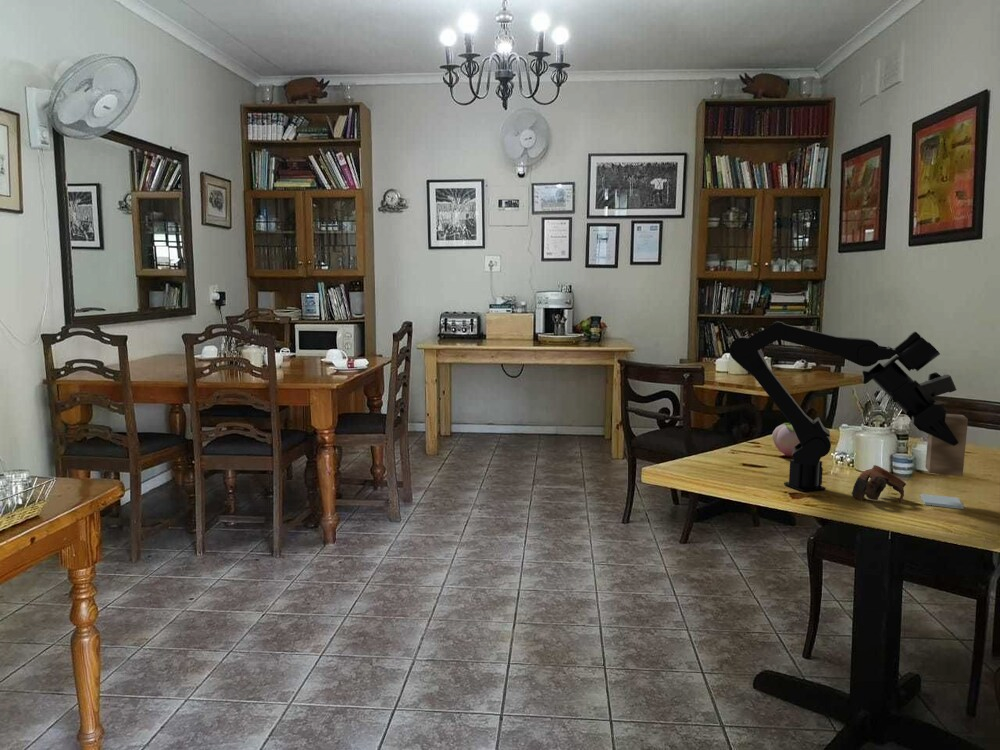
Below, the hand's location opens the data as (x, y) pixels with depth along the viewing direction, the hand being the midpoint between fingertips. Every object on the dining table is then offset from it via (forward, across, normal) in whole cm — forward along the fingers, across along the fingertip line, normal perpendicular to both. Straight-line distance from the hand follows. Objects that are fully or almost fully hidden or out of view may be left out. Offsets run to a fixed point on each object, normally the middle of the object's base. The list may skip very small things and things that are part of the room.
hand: (953, 441), depth 152 cm
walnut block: (+4, 0, +6) cm, 7 cm away
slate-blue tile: (+9, 0, +10) cm, 13 cm away
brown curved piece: (0, -4, +20) cm, 20 cm away
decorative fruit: (-13, +34, +33) cm, 49 cm away
